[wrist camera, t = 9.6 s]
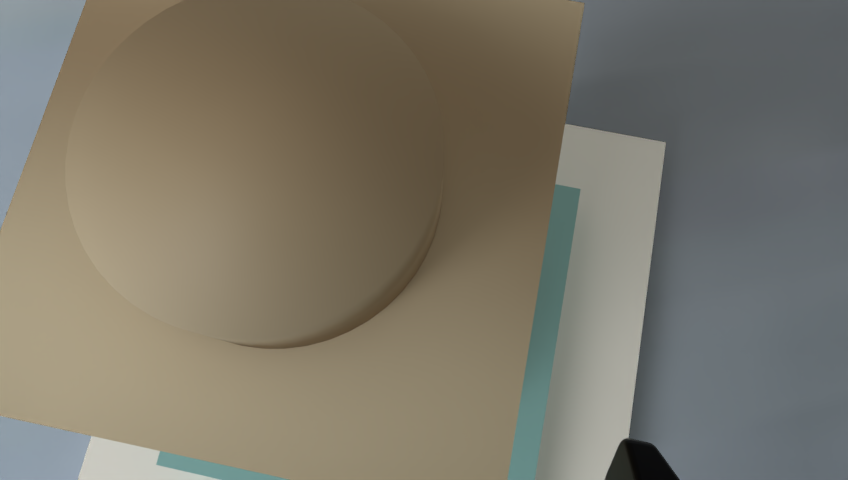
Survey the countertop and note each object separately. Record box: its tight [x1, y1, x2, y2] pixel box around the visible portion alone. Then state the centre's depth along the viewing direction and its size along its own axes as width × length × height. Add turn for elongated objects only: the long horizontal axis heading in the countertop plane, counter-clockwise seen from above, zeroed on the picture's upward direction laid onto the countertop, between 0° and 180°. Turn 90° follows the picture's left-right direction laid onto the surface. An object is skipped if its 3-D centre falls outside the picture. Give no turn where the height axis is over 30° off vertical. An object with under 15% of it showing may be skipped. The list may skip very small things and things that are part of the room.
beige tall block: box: [0, 0, 584, 480], centre depth 11 cm, size 5×5×13 cm
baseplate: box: [78, 124, 666, 480], centre depth 17 cm, size 14×14×2 cm
